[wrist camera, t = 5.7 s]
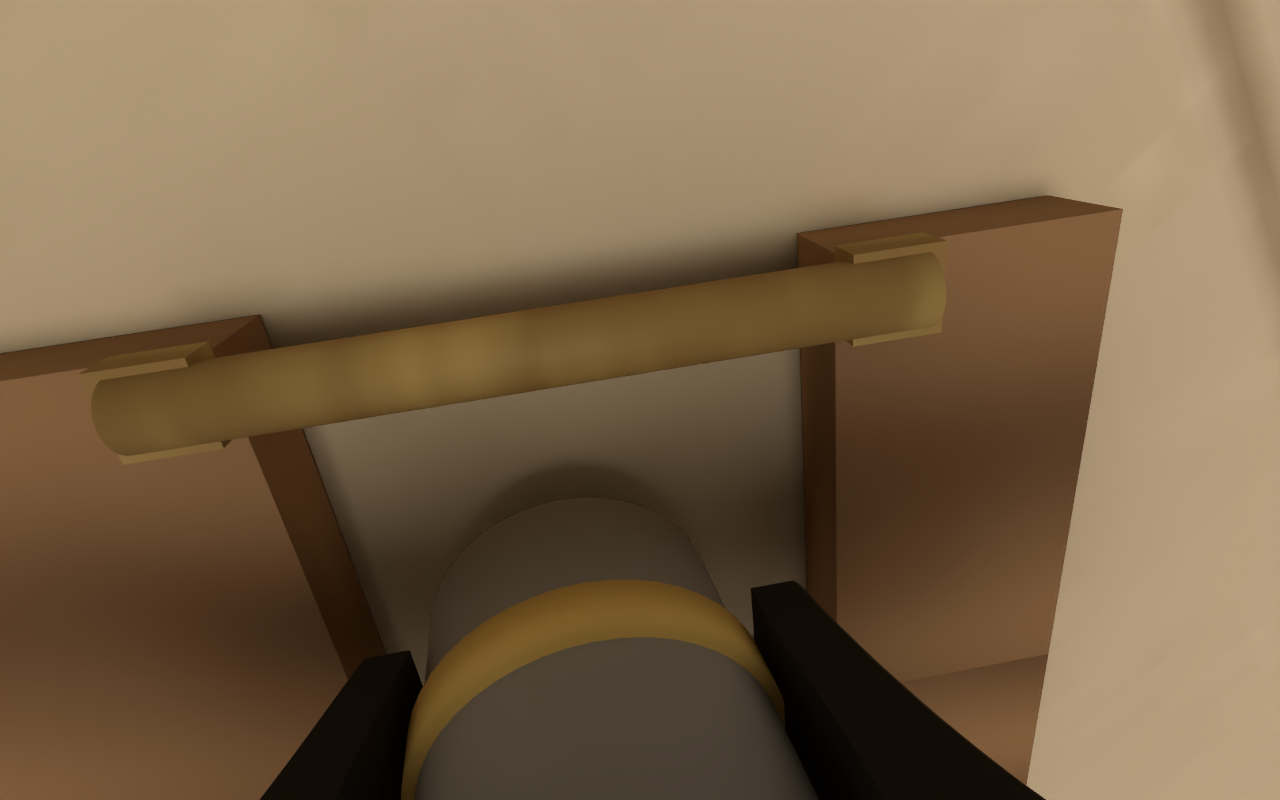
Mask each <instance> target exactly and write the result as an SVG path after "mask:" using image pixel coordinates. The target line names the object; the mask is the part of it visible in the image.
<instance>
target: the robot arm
mask: <svg viewBox="0 0 1280 800" xmlns="http://www.w3.org/2000/svg"><path fill="white" fill-rule="evenodd" d="M751 597H752V611H753V626H754V640H755V643H756V645H757V647H758V649H759V651H760V653H761V655H762V657H763V659H764V661H765V663H766V665H767V667H768V668H769V670H770V672H771V674H772V676H773V678H774V680H775V682H776V684H777V686H778V688H779V690H780V692H781V695H782V697H783V700H784V708H785V730H786V732H787V734H788V736H789V739H790V741H791V743H792V745H793V747H794V749H795V751H796V753H797V755H798V757H799V759H800V761H801V763H802V765H803V767H804V769H805V771H806V773H807V775H808V777H809V779H810V781H811V783H812V785H813V787H814V789H815V792H816V794H817V796H818V798H819V800H1046V799H1044V798H1043V797H1041V796H1040V795H1039V794H1037V793H1036V792H1034V791H1033V790H1032V789H1030V788H1029V787H1028V786H1026V785H1025V784H1024V783H1022V782H1021V781H1020V780H1018V779H1017V778H1016V777H1014V776H1013V775H1012V774H1010V773H1009V772H1008V771H1006V770H1005V769H1004V768H1003V767H1001V766H1000V765H999V764H997V763H996V762H995V761H994V760H992V759H991V758H990V757H988V756H987V755H986V754H985V753H983V752H982V751H981V750H980V749H978V748H977V747H976V746H975V745H973V744H972V743H971V742H970V741H969V740H967V739H966V738H965V737H964V736H962V735H961V734H960V733H959V732H957V731H956V730H955V729H954V728H953V727H951V726H950V725H949V724H948V723H946V722H945V721H944V720H943V719H942V718H941V717H939V716H938V715H937V714H936V713H935V712H933V711H932V710H931V709H930V708H929V707H928V706H926V705H925V704H924V703H923V702H922V701H921V700H919V699H918V698H917V697H916V696H915V695H914V694H913V693H912V692H911V691H909V690H908V689H907V688H906V687H905V686H904V685H903V684H902V683H900V682H899V681H898V680H897V679H896V678H895V677H894V676H893V675H892V674H890V673H889V672H888V671H887V670H886V669H885V668H884V667H883V666H882V665H880V664H879V663H878V662H877V661H876V660H875V659H874V658H873V657H872V656H871V655H870V654H869V653H868V652H867V651H865V650H864V649H863V648H862V647H861V646H860V645H859V644H858V643H857V642H856V641H855V640H854V639H853V638H852V637H851V636H850V635H849V634H848V633H847V632H846V631H845V630H844V629H843V628H842V627H841V626H840V625H839V624H838V623H837V622H836V621H835V620H834V619H833V618H832V617H831V616H830V615H829V614H828V613H827V612H826V611H825V610H824V609H823V608H822V607H821V606H820V605H819V604H818V603H817V602H816V601H815V600H814V599H813V598H812V597H811V596H810V595H809V594H808V592H807V591H806V590H805V589H804V588H803V587H802V586H801V585H799V584H798V583H796V582H795V581H794V580H793V581H788V582H782V583H777V584H771V585H766V586H760V587H755V588H751ZM422 688H423V686H422V683H421V680H420V678H419V675H418V672H417V669H416V666H415V663H414V661H413V658H412V655H411V652H410V650H409V651H403V652H398V653H392V654H387V655H381V656H376V657H370V658H365V659H364V660H363V661H362V663H361V664H360V665H359V666H358V668H357V669H356V670H355V672H354V673H353V674H352V676H351V677H350V678H349V680H348V681H347V682H346V684H345V685H344V686H343V688H342V689H341V690H340V692H339V693H338V695H337V696H336V697H335V699H334V700H333V701H332V703H331V704H330V705H329V707H328V708H327V710H326V711H325V712H324V714H323V715H322V716H321V718H320V719H319V721H318V722H317V723H316V725H315V726H314V727H313V729H312V730H311V732H310V733H309V734H308V736H307V737H306V738H305V740H304V741H303V742H302V744H301V745H300V747H299V748H298V749H297V751H296V752H295V753H294V755H293V756H292V757H291V759H290V760H289V761H288V763H287V764H286V765H285V767H284V768H283V769H282V771H281V772H280V773H279V775H278V776H277V777H276V778H275V780H274V781H273V782H272V784H271V785H270V786H269V788H268V789H267V790H266V792H265V793H264V794H263V796H262V797H261V798H260V800H401V787H402V778H403V769H404V760H405V751H406V742H407V733H408V727H409V723H410V718H411V714H412V710H413V708H414V705H415V703H416V700H417V698H418V695H419V693H420V691H421V689H422Z"/></svg>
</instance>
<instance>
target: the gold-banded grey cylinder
mask: <svg viewBox="0 0 1280 800" xmlns="http://www.w3.org/2000/svg"><path fill="white" fill-rule="evenodd" d="M401 800H819V798H818V796H817V794H816V792H815V789H814V787H813V785H812V783H811V781H810V779H809V777H808V775H807V773H806V771H805V769H804V767H803V765H802V763H801V761H800V759H799V757H798V755H797V753H796V751H795V749H794V747H793V745H792V743H791V741H790V739H789V736H788V734H787V732H786V730H785V708H784V700H783V697H782V695H781V692H780V690H779V688H778V686H777V684H776V682H775V680H774V678H773V676H772V674H771V672H770V670H769V668H768V667H767V665H766V663H765V661H764V659H763V657H762V655H761V653H760V651H759V649H758V647H757V645H756V643H755V642H754V640H753V638H752V637H751V635H750V634H749V632H748V631H747V629H746V628H745V627H744V626H743V625H742V624H741V623H740V622H739V620H738V619H737V618H736V617H735V616H734V615H733V614H731V613H730V612H729V611H727V610H726V608H725V606H724V604H723V602H722V600H721V598H720V596H719V594H718V592H717V590H716V588H715V586H714V584H713V581H712V579H711V577H710V575H709V573H708V571H707V569H706V567H705V565H704V563H703V561H702V559H701V557H700V555H699V553H698V551H697V550H696V548H695V547H694V545H693V544H692V542H691V541H690V539H689V538H688V537H687V536H686V535H685V534H684V533H683V532H682V531H681V530H680V529H679V528H678V527H677V526H675V525H674V524H673V523H672V522H670V521H669V520H668V519H666V518H664V517H663V516H661V515H659V514H658V513H656V512H654V511H652V510H649V509H647V508H645V507H642V506H640V505H637V504H633V503H629V502H625V501H622V500H615V499H608V498H589V497H582V498H572V499H562V500H558V501H553V502H548V503H543V504H540V505H537V506H534V507H531V508H528V509H525V510H523V511H521V512H518V513H516V514H514V515H512V516H510V517H507V518H505V519H504V520H502V521H500V522H499V523H497V524H495V525H494V526H492V527H490V528H489V529H488V530H486V531H485V532H484V533H482V534H481V535H480V536H478V537H477V538H476V539H475V540H473V541H472V542H471V543H470V544H469V545H468V546H467V547H466V548H465V549H464V550H463V551H462V552H461V553H460V555H459V556H458V557H457V558H456V560H455V561H454V562H453V564H452V565H451V566H450V567H449V569H448V571H447V573H446V574H445V576H444V578H443V580H442V581H441V583H440V586H439V588H438V591H437V594H436V596H435V599H434V604H433V609H432V613H431V624H430V635H429V646H428V657H427V667H426V678H425V684H424V686H423V688H422V689H421V691H420V693H419V695H418V698H417V700H416V703H415V705H414V708H413V710H412V714H411V718H410V723H409V727H408V733H407V742H406V751H405V760H404V769H403V778H402V787H401Z"/></svg>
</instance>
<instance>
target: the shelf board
mask: <svg viewBox="0 0 1280 800" xmlns="http://www.w3.org/2000/svg"><path fill="white" fill-rule="evenodd" d="M1122 211H1123V209H1119V208H1114V207H1108V206H1103V205H1097V204H1092V203H1086V202H1081V201H1075V200H1070V199H1064V198H1059V197H1053V196H1042V197H1035V198H1029V199H1022V200H1016V201H1009V202H1002V203H996V204H989V205H982V206H976V207H969V208H963V209H956V210H949V211H943V212H936V213H929V214H923V215H916V216H910V217H903V218H896V219H890V220H883V221H877V222H870V223H863V224H857V225H850V226H843V227H837V228H830V229H824V230H817V231H810V232H804V233H797V243H798V268H795V269H788V270H782V271H775V272H769V273H762V274H756V275H749V276H743V277H736V278H730V279H723V280H717V281H710V282H704V283H697V284H691V285H684V286H678V287H671V288H665V289H658V290H652V291H645V292H639V293H632V294H626V295H619V296H613V297H606V298H600V299H593V300H587V301H580V302H574V303H567V304H561V305H555V306H548V307H542V308H535V309H529V310H522V311H516V312H509V313H503V314H496V315H490V316H483V317H477V318H470V319H464V320H457V321H451V322H444V323H438V324H431V325H425V326H418V327H412V328H405V329H399V330H392V331H386V332H379V333H373V334H366V335H360V336H353V337H347V338H340V339H334V340H327V341H321V342H315V343H308V344H302V345H295V346H289V347H282V348H276V349H272V347H271V345H270V342H269V339H268V336H267V334H266V331H265V328H264V326H263V323H262V320H261V318H260V315H254V316H248V317H241V318H235V319H228V320H221V321H215V322H208V323H202V324H195V325H188V326H182V327H175V328H168V329H162V330H155V331H149V332H142V333H135V334H129V335H122V336H115V337H109V338H102V339H96V340H89V341H82V342H76V343H69V344H63V345H56V346H49V347H43V348H36V349H29V350H23V351H16V352H10V353H3V354H0V800H260V798H261V797H262V796H263V794H264V793H265V792H266V790H267V789H268V788H269V786H270V785H271V784H272V782H273V781H274V780H275V778H276V777H277V776H278V775H279V773H280V772H281V771H282V769H283V768H284V767H285V765H286V764H287V763H288V761H289V760H290V759H291V757H292V756H293V755H294V753H295V752H296V751H297V749H298V748H299V747H300V745H301V744H302V742H303V741H304V740H305V738H306V737H307V736H308V734H309V733H310V732H311V730H312V729H313V727H314V726H315V725H316V723H317V722H318V721H319V719H320V718H321V716H322V715H323V714H324V712H325V711H326V710H327V708H328V707H329V705H330V704H331V703H332V701H333V700H334V699H335V697H336V696H337V695H338V693H339V692H340V690H341V689H342V688H343V686H344V685H345V684H346V682H347V681H348V680H349V678H350V677H351V676H352V674H353V673H354V672H355V670H356V669H357V668H358V666H359V665H360V664H361V663H362V661H363V660H364V659H365V658H370V657H376V656H381V655H386V653H385V651H384V648H383V645H382V643H381V640H380V637H379V635H378V632H377V629H376V626H375V624H374V621H373V618H372V616H371V613H370V610H369V608H368V605H367V602H366V600H365V597H364V594H363V592H362V589H361V586H360V584H359V581H358V578H357V575H356V573H355V570H354V567H353V565H352V562H351V559H350V557H349V554H348V551H347V549H346V546H345V543H344V541H343V538H342V535H341V532H340V530H339V527H338V524H337V522H336V519H335V516H334V514H333V511H332V508H331V506H330V503H329V500H328V498H327V495H326V492H325V490H324V487H323V484H322V481H321V479H320V476H319V473H318V471H317V468H316V465H315V463H314V460H313V457H312V455H311V452H310V449H309V447H308V444H307V441H306V439H305V436H304V433H303V430H302V428H307V427H313V426H319V425H325V424H331V423H338V422H344V421H350V420H356V419H362V418H369V417H375V416H381V415H387V414H394V413H400V412H406V411H412V410H418V409H425V408H431V407H437V406H443V405H449V404H456V403H462V402H468V401H474V400H480V399H487V398H493V397H499V396H505V395H511V394H518V393H524V392H530V391H536V390H542V389H549V388H555V387H561V386H567V385H573V384H580V383H586V382H592V381H598V380H604V379H611V378H617V377H623V376H629V375H635V374H642V373H648V372H654V371H660V370H666V369H673V368H679V367H685V366H691V365H697V364H704V363H710V362H716V361H722V360H728V359H735V358H741V357H747V356H753V355H759V354H766V353H772V352H778V351H784V350H790V349H797V348H800V352H801V389H802V425H803V461H804V498H805V534H806V571H807V592H808V594H809V595H810V596H811V597H812V598H813V599H814V600H815V601H816V602H817V603H818V604H819V605H820V606H821V607H822V608H823V609H824V610H825V611H826V612H827V613H828V614H829V615H830V616H831V617H832V618H833V619H834V620H835V621H836V622H837V623H838V624H839V625H840V626H841V627H842V628H843V629H844V630H845V631H846V632H847V633H848V634H849V635H850V636H851V637H852V638H853V639H854V640H855V641H856V642H857V643H858V644H859V645H860V646H861V647H862V648H863V649H864V650H865V651H867V652H868V653H869V654H870V655H871V656H872V657H873V658H874V659H875V660H876V661H877V662H878V663H879V664H880V665H882V666H883V667H884V668H885V669H886V670H887V671H888V672H889V673H890V674H892V675H893V676H894V677H895V678H896V679H897V680H898V681H899V682H900V683H902V684H903V685H904V686H905V687H906V688H907V689H908V690H909V691H911V692H912V693H913V694H914V695H915V696H916V697H917V698H918V699H919V700H921V701H922V702H923V703H924V704H925V705H926V706H928V707H929V708H930V709H931V710H932V711H933V712H935V713H936V714H937V715H938V716H939V717H941V718H942V719H943V720H944V721H945V722H946V723H948V724H949V725H950V726H951V727H953V728H954V729H955V730H956V731H957V732H959V733H960V734H961V735H962V736H964V737H965V738H966V739H967V740H969V741H970V742H971V743H972V744H973V745H975V746H976V747H977V748H978V749H980V750H981V751H982V752H983V753H985V754H986V755H987V756H988V757H990V758H991V759H992V760H994V761H995V762H996V763H997V764H999V765H1000V766H1001V767H1003V768H1004V769H1005V770H1006V771H1008V772H1009V773H1010V774H1012V775H1013V776H1014V777H1016V778H1017V779H1018V780H1020V781H1021V782H1022V783H1024V784H1025V785H1026V784H1027V778H1028V772H1029V766H1030V760H1031V754H1032V748H1033V742H1034V736H1035V730H1036V724H1037V718H1038V712H1039V706H1040V700H1041V694H1042V688H1043V682H1044V676H1045V670H1046V664H1047V658H1048V652H1049V646H1050V640H1051V634H1052V629H1053V623H1054V617H1055V611H1056V605H1057V599H1058V593H1059V587H1060V581H1061V575H1062V569H1063V563H1064V557H1065V551H1066V545H1067V539H1068V533H1069V527H1070V521H1071V515H1072V509H1073V503H1074V497H1075V491H1076V485H1077V480H1078V474H1079V468H1080V462H1081V456H1082V450H1083V444H1084V438H1085V432H1086V426H1087V420H1088V414H1089V408H1090V402H1091V396H1092V390H1093V384H1094V378H1095V372H1096V366H1097V360H1098V354H1099V348H1100V342H1101V336H1102V331H1103V325H1104V319H1105V313H1106V307H1107V301H1108V295H1109V289H1110V283H1111V277H1112V271H1113V265H1114V259H1115V253H1116V247H1117V241H1118V235H1119V229H1120V223H1121V217H1122Z"/></svg>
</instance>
